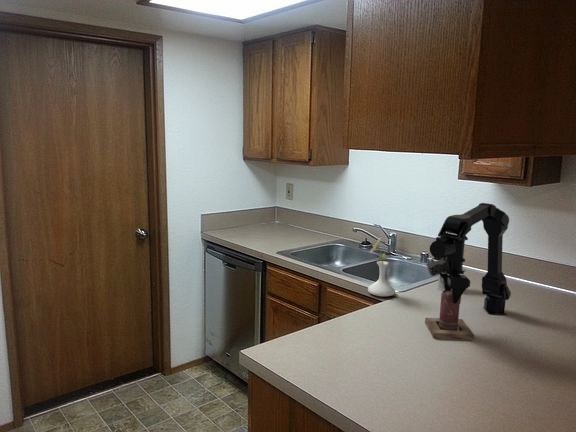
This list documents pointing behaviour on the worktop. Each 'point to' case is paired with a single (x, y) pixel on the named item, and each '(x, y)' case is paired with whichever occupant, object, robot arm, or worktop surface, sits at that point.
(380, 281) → the flower in vase
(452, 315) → the can
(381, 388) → the worktop surface
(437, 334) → the socket block
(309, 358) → the worktop surface
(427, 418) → the worktop surface
